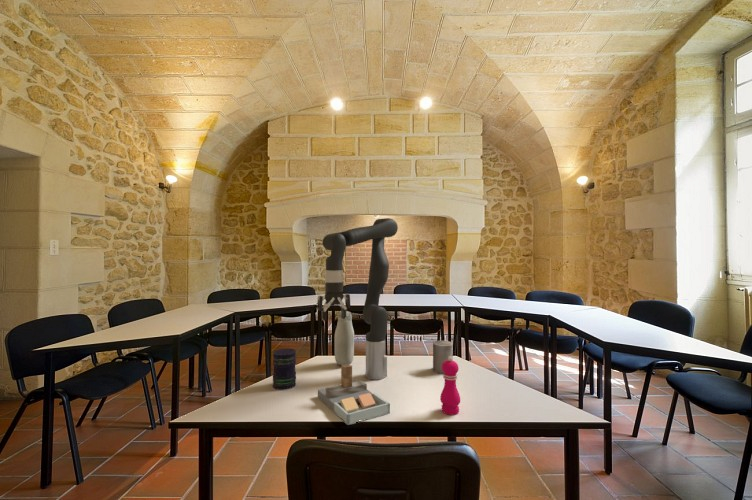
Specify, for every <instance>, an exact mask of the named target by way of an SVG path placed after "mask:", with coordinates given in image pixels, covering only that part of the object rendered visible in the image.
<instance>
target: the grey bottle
mask: <svg viewBox="0 0 752 500" xmlns="http://www.w3.org/2000/svg"><path fill="white" fill-rule="evenodd" d="M352 317H353V314H352V313H351V311H348V310H346V317H345V319H342V317H341V311H340V312H338V314H337V323H336V324H337V325H336V328H335V332H334V361H335V362H336V364H338V365H340V366H341V365H346V364H349V365H351V364H352V363H353V361H354V357H355V330H354V327H353V322H352V320H353V319H352Z"/></svg>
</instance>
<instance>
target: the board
mask: <svg viewBox="0 0 752 500" xmlns="http://www.w3.org/2000/svg"><path fill="white" fill-rule="evenodd" d="M354 382H355V381H352V383H354ZM340 385H341V384H337V385H333V386H329V387H324V388H319V389H317V398H318V399H319V400H320V401H322V403H323V404H325V406H326V407H327V408H328V409H330V410H331V411H332V412H333V413H334V403H337V404H339V405H340V406H341V407H342V405H341V403H340V402H341V400H342V399H346V398H350V397H354V399H355V401H356V403H357V405H359V404H360V402H359V400H358V396H359V395H363V394H367V393H370V394H371V395H372V394H373V393H374V392H371V391H370V390H369V389H367V390H365V391H361V392H357V393H352V394H348V395H344V396H339V397H335V398H331V399H330V398H329V397H327V396H326V388H331V387H335V386H340ZM342 408H343V407H342Z"/></svg>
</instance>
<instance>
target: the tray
mask: <svg viewBox="0 0 752 500" xmlns="http://www.w3.org/2000/svg"><path fill="white" fill-rule="evenodd" d="M372 393H373V394H372V397H373V399H374V401H375V403H376V404H375V406H374V407H370V408H366V409H363V408H362V406H361V404H359V405H358V407H359V409H358V411H355V412H351V413H348V412H347V411H345V410H344V409H343V408H342V407H341V406H340V405H339V404H337V403H334V412H333V413H334V414H335V415H336V416H337V415H338V416H339V417H340V418H342V419H343V420H344V421H345V422H344V421H343V420H342V419H341V420H342V421H343V422H344V423H345V425H347V426H349V425H355V424H357V423H356V422H357V421H359V420H364V419H368V420H370V419H369V418H372V417H375V418H377V417H376V416H379V417H381V416H380V415H382V416H385V415H384V414H386V415H388V413H389V414H390V413H391V403H389V402H388V401H387V400H385V399H384V398H382V397H381V396H379V395H378V394H376V393H375V392H372ZM338 416H337V417H338ZM339 417H338V418H339ZM340 418H339V419H340ZM372 419H373V418H372Z"/></svg>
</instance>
